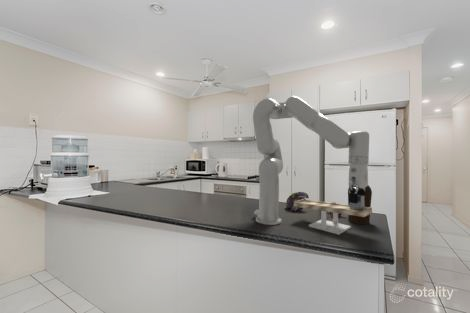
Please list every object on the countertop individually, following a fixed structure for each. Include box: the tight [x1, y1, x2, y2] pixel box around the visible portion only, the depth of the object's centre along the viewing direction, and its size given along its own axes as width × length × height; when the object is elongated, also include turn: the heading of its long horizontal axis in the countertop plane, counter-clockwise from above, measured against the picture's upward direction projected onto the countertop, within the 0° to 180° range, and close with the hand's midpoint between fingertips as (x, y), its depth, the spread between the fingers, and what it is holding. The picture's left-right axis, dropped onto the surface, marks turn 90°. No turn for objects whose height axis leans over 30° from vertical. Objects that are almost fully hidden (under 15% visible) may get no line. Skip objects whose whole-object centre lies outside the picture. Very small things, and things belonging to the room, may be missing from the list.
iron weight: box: [349, 195, 365, 211], centre depth 98 cm, size 4×4×6 cm
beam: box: [294, 198, 373, 217], centre depth 106 cm, size 32×11×3 cm, turn 44°
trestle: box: [308, 210, 352, 235], centre depth 106 cm, size 14×13×8 cm
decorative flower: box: [285, 191, 309, 213], centre depth 139 cm, size 14×12×15 cm
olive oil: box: [347, 184, 373, 226], centre depth 116 cm, size 11×11×25 cm
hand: (357, 201), depth 98 cm, fingers open, 8 cm apart
